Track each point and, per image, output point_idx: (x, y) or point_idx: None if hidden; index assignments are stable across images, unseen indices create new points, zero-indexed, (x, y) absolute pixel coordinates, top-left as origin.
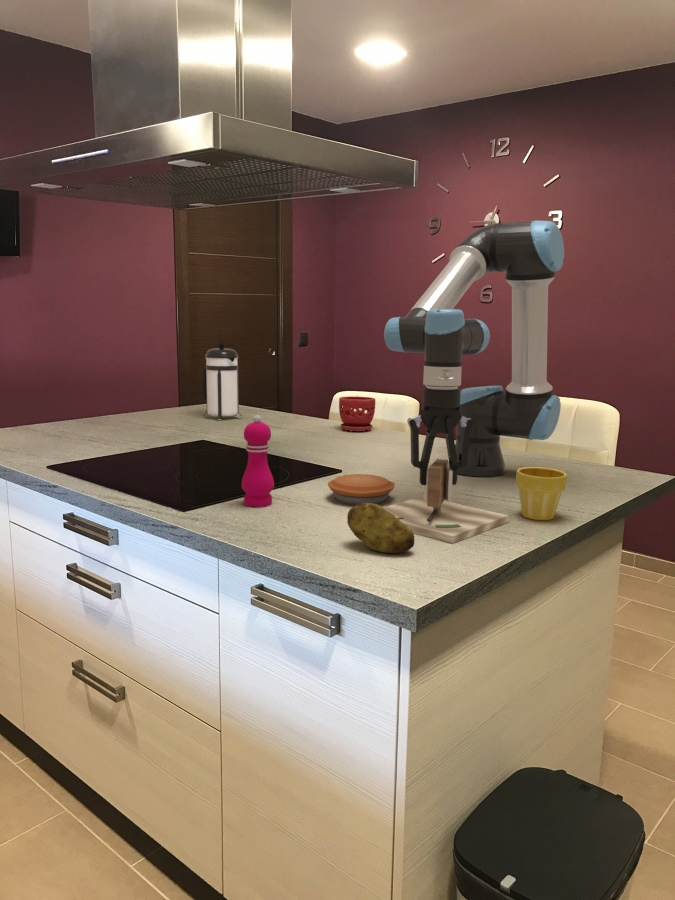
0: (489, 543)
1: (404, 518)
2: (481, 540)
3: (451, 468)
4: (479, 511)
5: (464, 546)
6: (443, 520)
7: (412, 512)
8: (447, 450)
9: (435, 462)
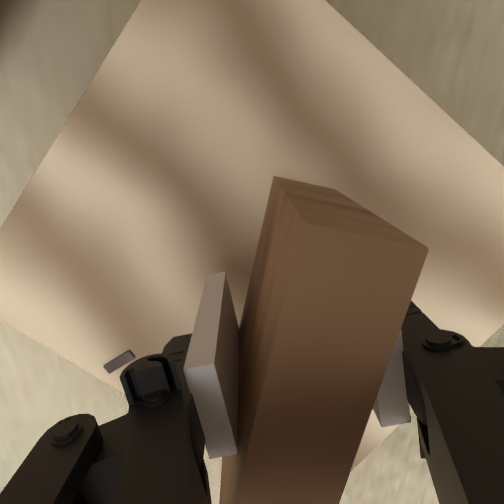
0: (424, 465)
1: (139, 352)
2: (405, 444)
3: (410, 400)
4: (472, 198)
5: (342, 499)
6: None
7: (165, 263)
8: (455, 478)
9: (279, 392)
